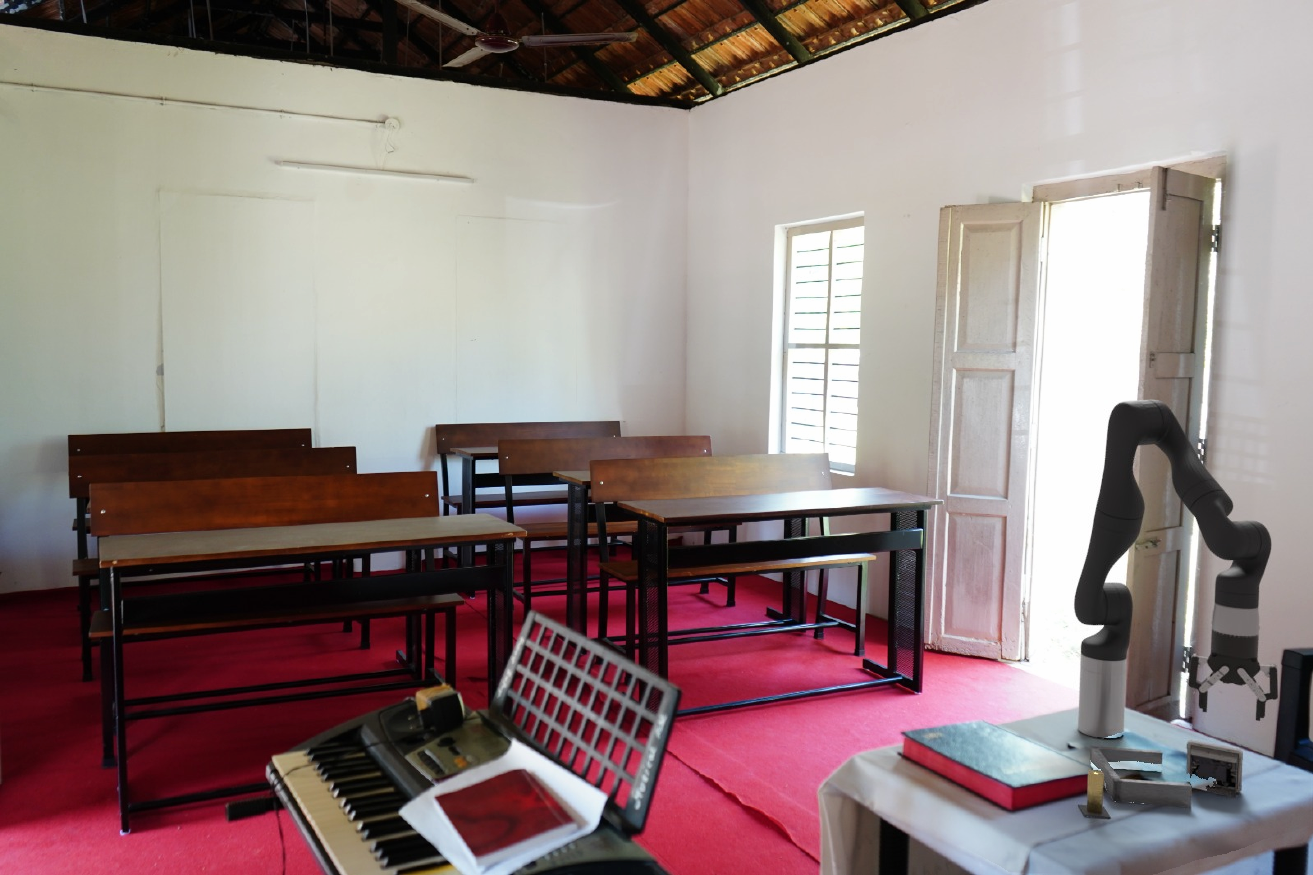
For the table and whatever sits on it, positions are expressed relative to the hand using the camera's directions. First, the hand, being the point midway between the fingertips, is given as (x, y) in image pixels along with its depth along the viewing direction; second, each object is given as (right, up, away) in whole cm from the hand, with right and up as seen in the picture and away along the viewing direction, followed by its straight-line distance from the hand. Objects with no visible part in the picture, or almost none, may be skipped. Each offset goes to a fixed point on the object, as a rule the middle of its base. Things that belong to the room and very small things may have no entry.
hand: (1231, 715), depth 185 cm
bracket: (-13, -16, +7) cm, 22 cm away
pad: (-27, -16, -4) cm, 32 cm away
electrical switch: (0, -16, +5) cm, 17 cm away
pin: (-27, -16, -4) cm, 32 cm away
